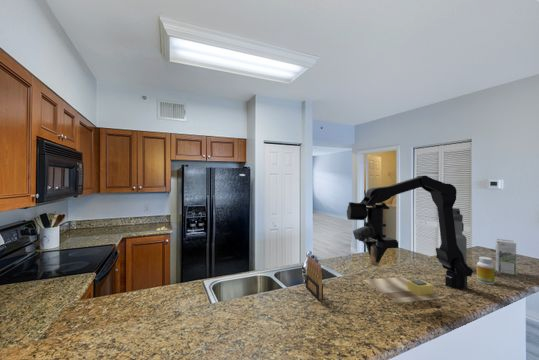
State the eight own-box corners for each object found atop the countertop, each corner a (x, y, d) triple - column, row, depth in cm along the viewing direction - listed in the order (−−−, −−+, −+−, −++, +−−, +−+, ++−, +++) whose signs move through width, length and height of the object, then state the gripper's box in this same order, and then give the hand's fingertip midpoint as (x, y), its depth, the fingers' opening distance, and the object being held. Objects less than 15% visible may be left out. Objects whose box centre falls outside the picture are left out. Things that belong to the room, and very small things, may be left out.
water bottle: (444, 261, 125) (444, 206, 125) (468, 266, 118) (468, 208, 118) (438, 266, 118) (438, 208, 119) (464, 271, 111) (464, 209, 111)
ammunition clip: (323, 300, 82) (323, 264, 82) (318, 300, 81) (318, 264, 82) (310, 287, 92) (310, 255, 92) (305, 287, 92) (305, 255, 92)
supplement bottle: (495, 285, 96) (495, 260, 96) (477, 282, 99) (477, 258, 99) (493, 281, 100) (493, 257, 100) (476, 278, 103) (476, 255, 103)
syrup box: (512, 271, 112) (512, 239, 112) (516, 275, 107) (516, 242, 107) (495, 269, 115) (495, 238, 115) (498, 273, 110) (498, 240, 110)
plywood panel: (402, 279, 101) (402, 276, 101) (443, 301, 82) (443, 298, 82) (362, 282, 97) (362, 279, 97) (397, 306, 79) (397, 302, 79)
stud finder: (421, 287, 90) (421, 278, 90) (433, 293, 86) (433, 283, 86) (407, 289, 89) (407, 279, 89) (418, 295, 84) (418, 285, 84)
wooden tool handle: (375, 263, 96) (375, 245, 96) (380, 266, 93) (380, 247, 93) (368, 264, 96) (369, 246, 96) (373, 266, 93) (373, 248, 93)
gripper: (343, 217, 102) (343, 255, 102) (371, 225, 84) (371, 270, 84) (367, 217, 104) (367, 253, 104) (399, 224, 86) (399, 268, 86)
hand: (374, 261), depth 94 cm, fingers closed on wooden tool handle, 3 cm apart
